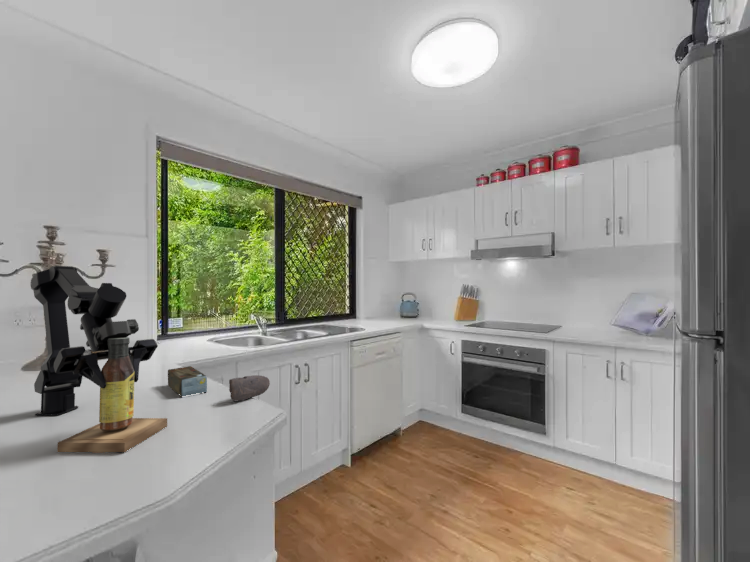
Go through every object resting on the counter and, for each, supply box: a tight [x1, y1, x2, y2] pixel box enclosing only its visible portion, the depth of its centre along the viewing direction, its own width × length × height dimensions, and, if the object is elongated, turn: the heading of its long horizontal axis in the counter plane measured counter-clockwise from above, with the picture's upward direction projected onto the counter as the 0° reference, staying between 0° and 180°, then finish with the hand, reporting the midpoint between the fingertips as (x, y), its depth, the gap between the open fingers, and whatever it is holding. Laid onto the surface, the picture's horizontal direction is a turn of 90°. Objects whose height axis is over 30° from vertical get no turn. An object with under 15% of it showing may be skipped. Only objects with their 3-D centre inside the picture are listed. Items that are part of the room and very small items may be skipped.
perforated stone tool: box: [228, 374, 271, 402], centre depth 108 cm, size 15×5×7 cm, turn 144°
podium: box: [56, 417, 168, 454], centre depth 78 cm, size 14×14×2 cm
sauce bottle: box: [98, 336, 135, 431], centre depth 78 cm, size 6×6×20 cm
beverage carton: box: [167, 365, 208, 397], centre depth 118 cm, size 8×19×7 cm, turn 42°
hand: (121, 384), depth 77 cm, fingers closed on sauce bottle, 6 cm apart
